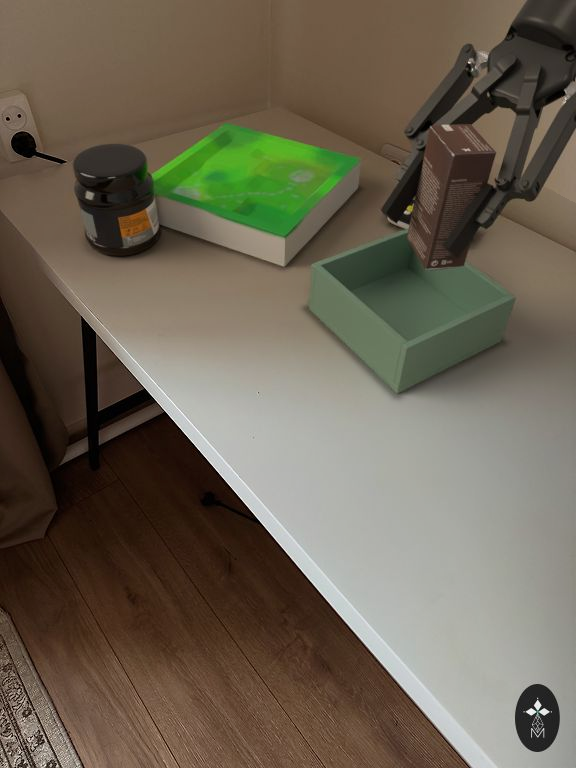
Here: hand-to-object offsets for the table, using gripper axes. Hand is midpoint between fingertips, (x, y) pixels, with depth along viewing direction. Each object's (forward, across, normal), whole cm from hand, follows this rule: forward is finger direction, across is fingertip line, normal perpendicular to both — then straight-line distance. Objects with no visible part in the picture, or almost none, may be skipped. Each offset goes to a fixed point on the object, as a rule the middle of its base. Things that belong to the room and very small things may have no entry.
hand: (418, 233), depth 60 cm
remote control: (-6, +17, -33) cm, 38 cm away
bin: (+8, +5, -19) cm, 21 cm away
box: (0, 0, -5) cm, 5 cm away
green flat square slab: (+6, +40, -22) cm, 45 cm away
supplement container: (+20, +44, -7) cm, 48 cm away
